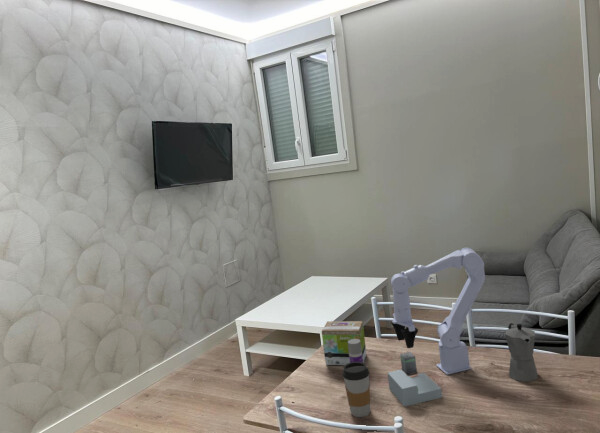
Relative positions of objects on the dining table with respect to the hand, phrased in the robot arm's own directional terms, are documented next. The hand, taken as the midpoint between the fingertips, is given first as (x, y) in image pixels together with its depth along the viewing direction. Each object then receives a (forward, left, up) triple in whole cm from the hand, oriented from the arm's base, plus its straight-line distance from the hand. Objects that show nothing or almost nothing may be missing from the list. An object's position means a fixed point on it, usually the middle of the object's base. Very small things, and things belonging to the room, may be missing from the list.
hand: (405, 343), depth 166 cm
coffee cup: (+25, +18, -11) cm, 32 cm away
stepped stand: (+6, +15, -10) cm, 19 cm away
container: (+19, -1, -11) cm, 22 cm away
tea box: (+18, -19, -11) cm, 28 cm away
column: (0, 0, -11) cm, 11 cm away
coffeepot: (-32, +19, -11) cm, 39 cm away
